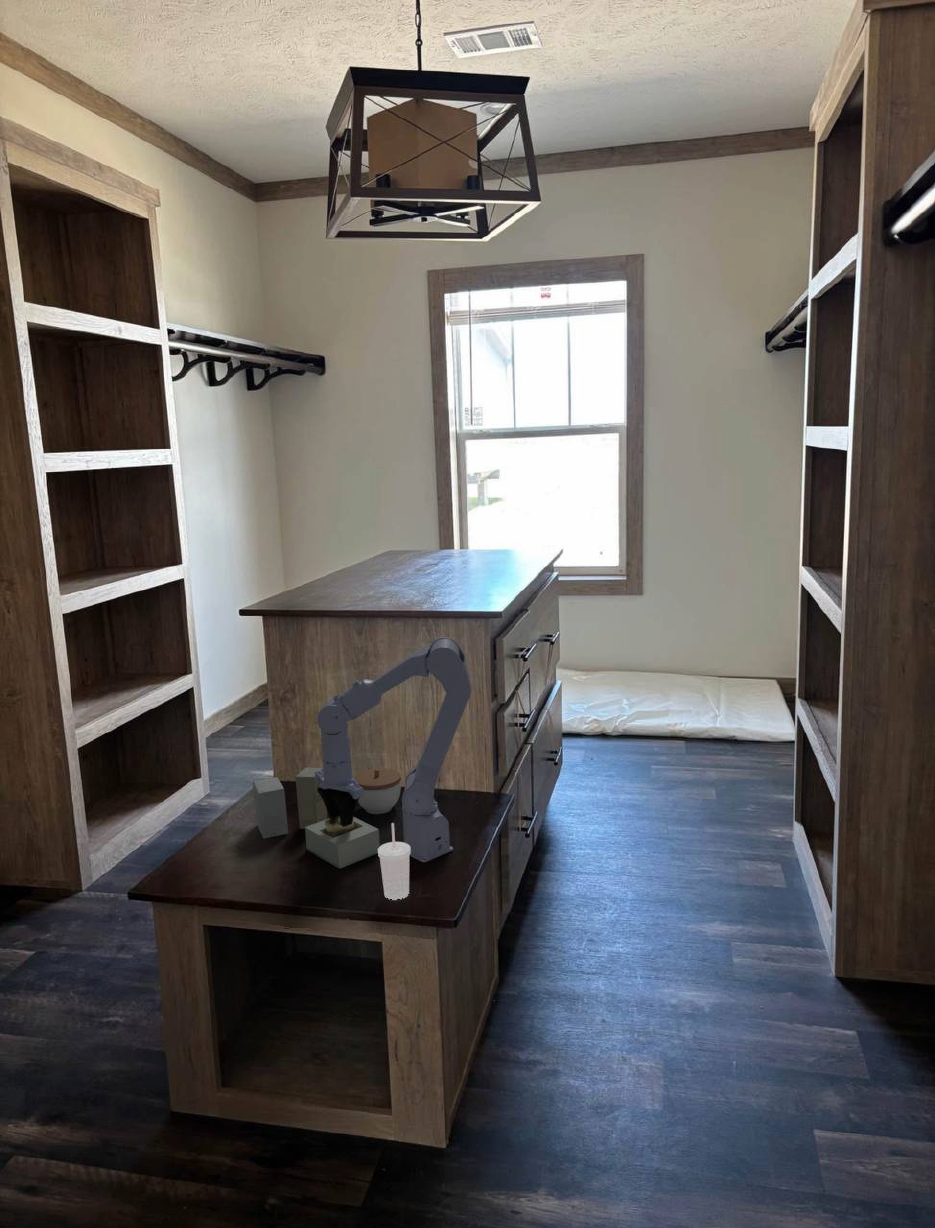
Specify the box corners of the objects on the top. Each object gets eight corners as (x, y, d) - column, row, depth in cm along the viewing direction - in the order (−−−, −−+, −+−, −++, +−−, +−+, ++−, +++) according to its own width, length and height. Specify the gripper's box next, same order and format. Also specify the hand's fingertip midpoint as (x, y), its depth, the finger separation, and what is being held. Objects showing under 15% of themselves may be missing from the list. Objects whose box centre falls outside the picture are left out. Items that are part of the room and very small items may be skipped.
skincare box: (317, 830, 195) (313, 777, 193) (298, 829, 196) (294, 776, 194) (328, 818, 201) (324, 767, 199) (309, 817, 202) (305, 766, 200)
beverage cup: (400, 882, 171) (396, 813, 168) (419, 894, 166) (416, 823, 164) (373, 893, 167) (369, 823, 164) (393, 905, 163) (388, 834, 160)
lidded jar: (356, 800, 210) (354, 762, 209) (402, 798, 211) (400, 760, 209) (353, 820, 200) (351, 780, 198) (402, 817, 200) (399, 777, 199)
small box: (288, 834, 194) (284, 788, 192) (262, 839, 192) (258, 793, 190) (281, 820, 201) (278, 776, 199) (256, 825, 199) (252, 780, 197)
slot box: (380, 852, 184) (378, 829, 183) (339, 869, 177) (337, 845, 176) (346, 834, 193) (345, 812, 192) (306, 849, 186) (304, 827, 185)
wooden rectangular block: (355, 839, 185) (353, 817, 184) (335, 848, 182) (333, 825, 180) (346, 835, 187) (344, 812, 186) (326, 843, 184) (324, 821, 183)
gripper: (300, 755, 184) (305, 817, 186) (340, 773, 173) (345, 839, 176) (329, 746, 188) (333, 807, 191) (370, 763, 178) (374, 827, 180)
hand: (341, 822), depth 184 cm, fingers open, 4 cm apart
